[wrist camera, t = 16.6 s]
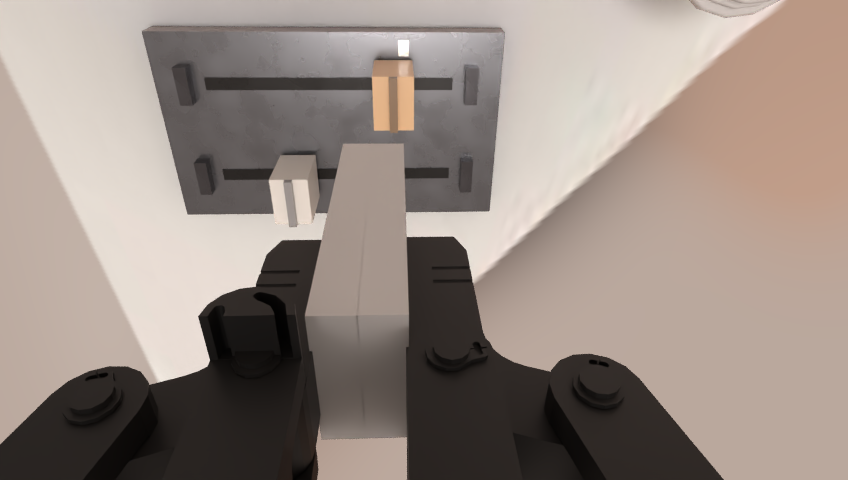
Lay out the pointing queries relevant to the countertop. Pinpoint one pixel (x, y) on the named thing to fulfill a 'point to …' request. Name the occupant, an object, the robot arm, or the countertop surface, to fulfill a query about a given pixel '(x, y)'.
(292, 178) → the fader
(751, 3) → the coffee cup
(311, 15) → the countertop surface
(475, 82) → the console
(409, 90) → the block
